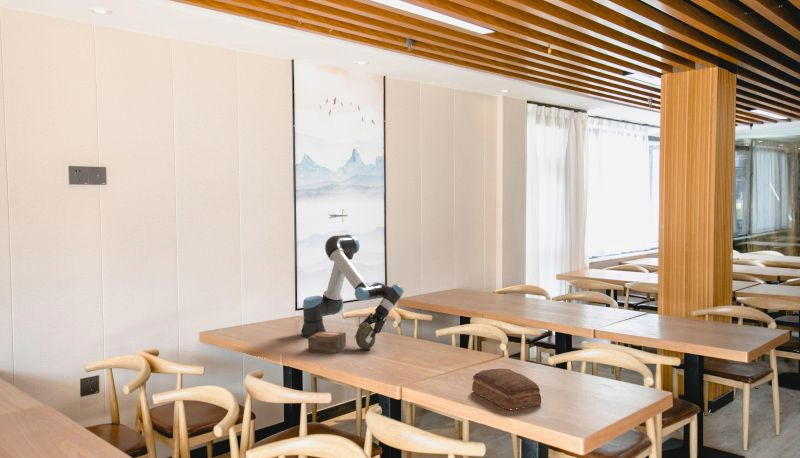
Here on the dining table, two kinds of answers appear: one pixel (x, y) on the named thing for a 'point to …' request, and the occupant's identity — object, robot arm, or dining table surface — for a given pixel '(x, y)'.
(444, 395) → the dining table surface
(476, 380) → the bread
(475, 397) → the dining table surface
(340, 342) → the pedestal
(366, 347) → the decorative egg
